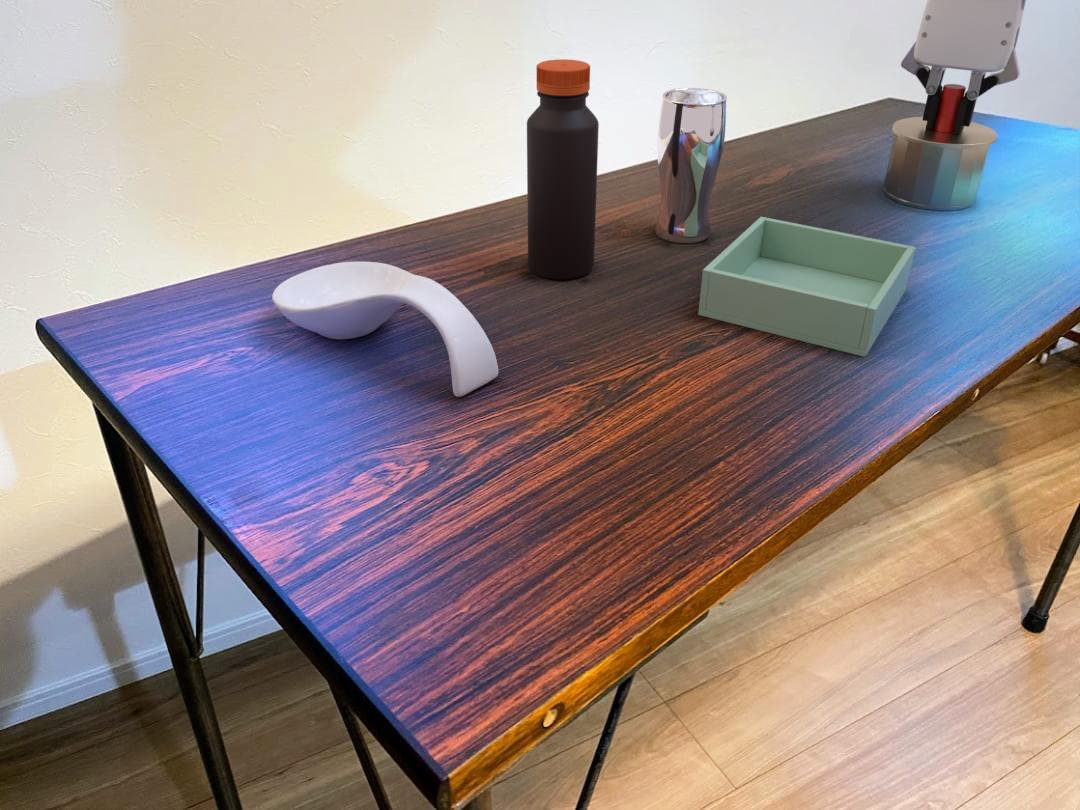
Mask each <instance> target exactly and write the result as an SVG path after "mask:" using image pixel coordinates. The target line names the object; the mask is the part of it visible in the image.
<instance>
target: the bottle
mask: <svg viewBox="0 0 1080 810" xmlns="http://www.w3.org/2000/svg"><path fill="white" fill-rule="evenodd" d="M590 88H591V65H590V64H589V63H588V62H585V61H582V60H577V59H568V58H567V59H564V58H563V59H549V60H544V61H540V62H539V63H538V64H536V91H537V92H536V94H537V97H538V98H539V106H538V107H537V108H536V109H535V110H534V111H532V113H531V115H530V116H529V117H528V118H527V120H526V185H527V188H526V189H527V190H526V191H527V193H526V194H527V197H526V198H527V199H526V200H527V204H526V205H527V263H528V268H529V270H530V271H531V272H532V273H533V274H535V275H537V276H539V277H540V278H544V279H548V280H557V281H567V280H569V281H570V280H573V279H574V280H575V279H579V278H581V277H584V276H586V275H587V274H589V273H590V272H591V271H592V270H593V268H594V265H595V248H596V247H595V246H596V245H595V243H596V220H597V219H596V218H597V217H596V215H597V214H596V213H597V186H598V185H597V183H598V155H599V153H598V152H599V129H600V127H599V126H600V125H599V120H598V118H597V116H596V115H595V114H594V113H593V111H592V110H590V108H589V107H588V106H587V98H588V97H589V96H590V93H589V91H590V90H591V89H590Z"/></svg>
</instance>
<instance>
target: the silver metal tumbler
mask: <svg viewBox="0 0 1080 810" xmlns="http://www.w3.org/2000/svg"><path fill="white" fill-rule="evenodd" d="M727 99H728V96H727V95H726V94H725V93H724V92H721V91H718V90H714V89H709V88H702V87H681V88H680V87H679V88H673V89H669V90H666V91H664V92H663V93H662V101H661V107H660V112H659V120H658V128H657V129H658V130H657V147H656V151H657V165H658V175H659V183H660V184H659V185H660V206H659V207H660V208H659V212H658V216H657V220H656V224H655V228H654V231H655V234H656V236H657V237H658V238H660V240H661V239H662V240H664V241H666V242H669V243H675V244H697V243H701V242H704V241H705V240H707V239H708V238H709V237H710V235H711V224H710V223H711V222H710V203H711V197H712V193H713V190H714V189H713V188H714V185H715V182H716V178H717V175H718V172H719V169H720V165H721V160H722V157H723V151H724V146H725V145H724V144H725V140H726V139H725V138H726V126H727V125H726V124H727Z"/></svg>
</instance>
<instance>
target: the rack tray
mask: <svg viewBox="0 0 1080 810" xmlns="http://www.w3.org/2000/svg"><path fill="white" fill-rule="evenodd" d="M916 250H917V247H916V246H913V245H908V244H903V243H898V242H893V241H887V240H883V239H878V238H872V237H867V236H861V235H857V234H851V233H847V232H842V231H836V230H831V229H826V228H821V227H816V226H811V225H806V224H800V223H795V222H791V221H785V220H781V219H775V218H770V217H765V216H759V218H758V219H756V220H755V221H754V222H753V223H752V224H751V225H750V226H748V228H747V229H746V230H745V231H743V232H742V233H741V234H740V235H739V236H738V237H737V238H736V239H735V240H733V241H732V242H731V244H729V245H728V246H727V247H726V248H725V249H724V250H722V251H721V253H719V254H718V255H717V256H716V257H715V258H714V259H713V260H712V261H711V262H710V263H709V264H707V265H706V266H705V267H704V268H703V269H702V273H701V274H702V275H701V282H700V283H701V285H700V295H699V304H698V312H697V315H698V316H702V317H705V318H708V319H712V320H716V321H721V322H725V323H727V324H728V323H729V324H733V325H736V326H740V327H744V328H749V329H752V330H756V331H761V332H764V333H768V334H773V335H776V336H780V337H784V338H787V339H791V340H794V341H795V340H796V341H800V342H804V343H808V344H812V345H815V346H820V347H824V348H827V349H831V350H836V351H839V352H843V353H847V354H851V355H855V356H859V357H863V358H866V357H867V355H868V354H869V352H870V350H871V349H872V347H873V345H874V343H876V341H877V339H878V337H879V335H880V333H881V332H882V330H883V329H884V327H885V325H886V324H887V322H888V320H889V319H890V318H891V316H892V314H893V313H894V311H895V309H896V307H897V306H898V304H899V302H900V301H901V299H902V297H903V296H904V294H905V293H906V291H907V288H908V283H909V278H910V274H911V271H912V266H913V263H914V258H915V254H916Z"/></svg>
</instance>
